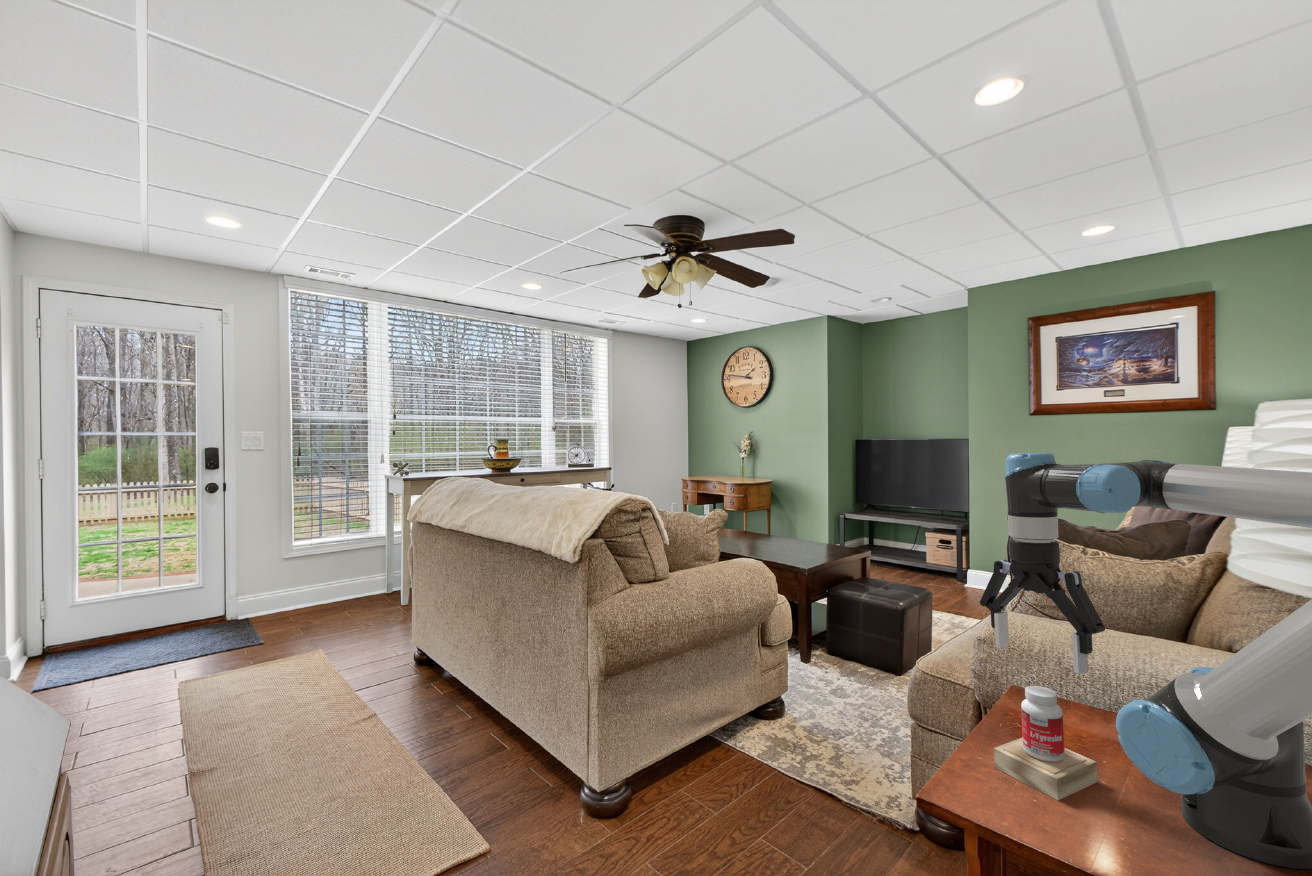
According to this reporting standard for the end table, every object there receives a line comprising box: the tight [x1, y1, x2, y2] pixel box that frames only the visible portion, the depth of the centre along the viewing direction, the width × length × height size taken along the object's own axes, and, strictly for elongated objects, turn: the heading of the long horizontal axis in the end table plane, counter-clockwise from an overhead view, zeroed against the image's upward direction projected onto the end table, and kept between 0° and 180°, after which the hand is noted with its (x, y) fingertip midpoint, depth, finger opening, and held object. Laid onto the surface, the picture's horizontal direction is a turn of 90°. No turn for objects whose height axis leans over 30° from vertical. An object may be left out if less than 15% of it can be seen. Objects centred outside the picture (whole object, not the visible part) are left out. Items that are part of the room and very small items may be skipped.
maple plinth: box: [993, 737, 1098, 801], centre depth 101 cm, size 11×11×4 cm
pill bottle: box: [1020, 685, 1065, 762], centre depth 101 cm, size 6×6×11 cm
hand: (1039, 658), depth 102 cm, fingers open, 13 cm apart
